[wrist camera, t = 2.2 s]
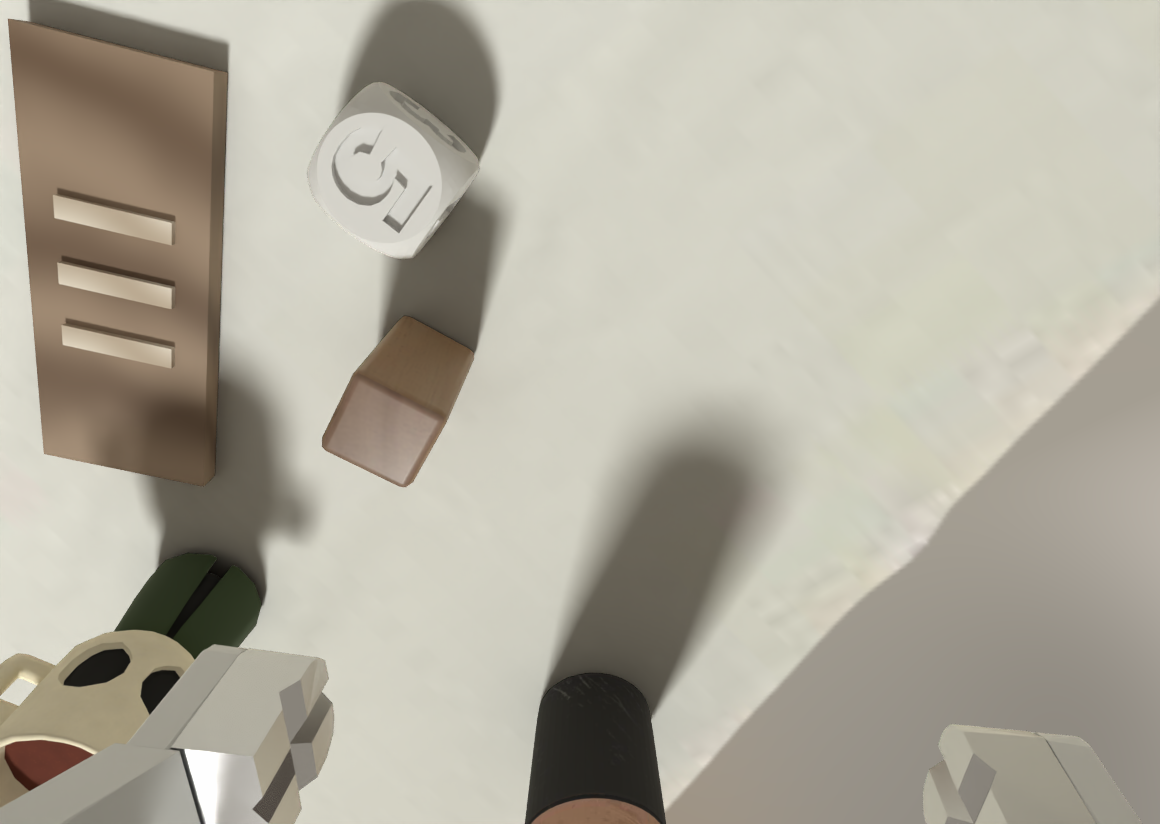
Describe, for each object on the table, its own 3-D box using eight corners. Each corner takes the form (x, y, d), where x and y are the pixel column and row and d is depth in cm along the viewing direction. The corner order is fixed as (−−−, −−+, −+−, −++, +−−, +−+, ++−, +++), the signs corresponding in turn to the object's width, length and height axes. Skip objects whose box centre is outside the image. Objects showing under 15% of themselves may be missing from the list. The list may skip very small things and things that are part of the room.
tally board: (214, 475, 37) (200, 489, 36) (60, 443, 37) (39, 456, 35) (227, 72, 29) (210, 71, 28) (29, 21, 29) (2, 17, 27)
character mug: (322, 590, 40) (213, 794, 29) (275, 669, 43) (157, 886, 31) (138, 504, 38) (-63, 686, 26) (100, 592, 41) (-99, 795, 29)
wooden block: (371, 377, 35) (314, 449, 28) (404, 310, 34) (354, 369, 26) (443, 413, 36) (406, 494, 29) (478, 350, 34) (449, 417, 27)
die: (424, 248, 32) (397, 272, 28) (332, 175, 31) (288, 189, 27) (488, 160, 31) (471, 171, 26) (394, 81, 30) (359, 77, 25)
